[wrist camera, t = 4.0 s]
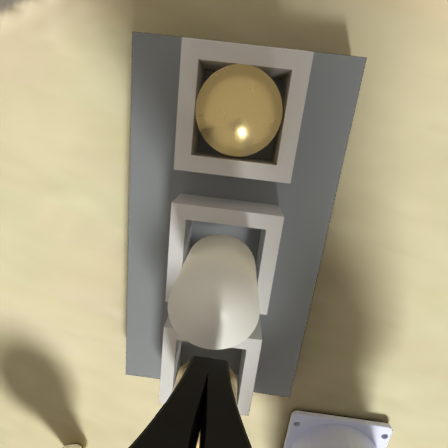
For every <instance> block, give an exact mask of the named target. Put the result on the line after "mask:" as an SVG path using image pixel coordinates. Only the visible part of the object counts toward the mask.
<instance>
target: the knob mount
mask: <svg viewBox="0 0 448 448" xmlns="http://www.w3.org/2000/svg"><path fill="white" fill-rule="evenodd" d="M366 59H367V58H366V57H357V56H348V55H339V54H330V53H320V52H314V51H305V50H296V49H287V48H278V47H269V46H260V45H251V44H242V43H233V42H224V41H215V40H206V39H197V38H188V37H176V36H167V35H158V34H149V33H140V32H133V34H132V85H131V136H130V186H129V237H128V288H127V339H126V374H127V375H134V376H141V377H148V378H156V379H160V394H159V403H160V404H165V402H166V401H167V399H168V398H169V396H170V395H171V393H172V392H173V388H174V384H175V381H176V377H177V374H178V371H179V369H180V368H181V367H182V366H183V365H184V364H185V363H186V362H188V361H190V360H191V358H192V357H193V356H200V357H210V358H215V359H220V360H226V361H227V362H228V363H229V367H230V368H231V369H232V370H233V372H234V373H235V375H236V378H237V407H238V410H239V414H240V415H245V416H249V411H250V406H251V400H252V395H253V392H256V393H263V394H270V395H277V396H284V397H290V394H291V389H292V385H293V381H294V376H295V372H296V367H297V363H298V358H299V354H300V350H301V345H302V341H303V336H304V332H305V328H306V323H307V319H308V314H309V310H310V306H311V301H312V297H313V292H314V288H315V284H316V279H317V275H318V270H319V266H320V262H321V257H322V253H323V248H324V244H325V240H326V235H327V231H328V226H329V222H330V218H331V213H332V209H333V204H334V200H335V196H336V191H337V187H338V182H339V178H340V174H341V169H342V165H343V160H344V156H345V151H346V147H347V143H348V138H349V134H350V129H351V125H352V121H353V116H354V112H355V107H356V103H357V99H358V94H359V90H360V85H361V81H362V77H363V72H364V68H365V63H366ZM233 64H246V65H251V66H254V67H257V68H259V69H260V70H262V71H263V72H265V73H266V74H267V75H268V76H269V77H270V78H271V79H272V80H273V81H274V83H275V84H276V86H277V88H278V90H279V92H280V95H281V99H282V106H283V113H282V120H281V124H280V127H279V129H278V131H277V133H276V135H275V136H274V138H273V139H272V141H271V142H270V143H269V144H268V145H267V146H266V147H264V148H263V149H262V150H260V151H258V152H256V153H254V154H251V155H248V156H241V157H235V156H229V155H225V154H223V153H220V152H218V151H217V150H215V149H214V148H212V147H211V146H210V145H209V144H208V143H207V142H206V141H205V139H204V138H203V136H202V134H201V132H200V131H199V128H198V125H197V121H196V101H197V97H198V94H199V92H200V89H201V88H202V86H203V84H204V83H205V81H206V80H207V79H208V78H209V77H210V76H211V75H212V74H213V73H215V72H216V71H217V70H219V69H221V68H223V67H226V66H229V65H233ZM214 234H225V235H230V236H233V237H235V238H237V239H239V240H241V241H242V242H243V243H245V244H246V245H247V246H248V248H249V249H250V250H251V252H252V254H253V256H254V259H255V265H256V276H257V287H258V298H259V310H260V313H259V320H258V323H257V326H256V328H255V329H254V331H253V332H252V334H251V335H250V336H249V337H248V338H247V339H246V340H244V341H243V342H242V343H240V344H238V345H236V346H233V347H231V348H227V349H220V350H212V349H205V348H201V347H198V346H195V345H193V344H191V343H189V342H188V341H186V340H185V339H183V338H182V337H181V336H180V335H179V334H178V333H177V332H176V330H175V329H174V327H173V326H172V324H171V322H170V319H169V316H168V299H169V296H170V293H171V291H172V289H173V286H174V284H175V282H176V280H177V278H178V275H179V273H180V271H181V269H182V266H183V264H184V262H185V260H186V258H187V255H188V253H189V251H190V249H191V248H192V247H193V246H194V244H195V243H197V242H198V241H199V240H201V239H202V238H204V237H207V236H210V235H214Z"/></svg>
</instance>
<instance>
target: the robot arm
mask: <svg viewBox="0 0 448 448" xmlns="http://www.w3.org/2000/svg"><path fill="white" fill-rule="evenodd" d="M297 421H298V422H297ZM392 431H393V430H392V428H391V426H390V425H389V424H388V423H383V422H376V421H369V420H362V419H355V418H347V417H340V416H333V415H326V414H319V413H312V412H305V411H294V412H292V414H291V417H290V422H289V426H288V430H287V435H286V439H285V443H284V447H283V448H387V445H388V443H389V440H390V437H391V435H392ZM199 433H200V443H199V448H252V447H251V444H250V442H249V439H248V437H247V434H246V431H245V428H244V426H243V423H242V420H241V417H240V414H239V410H238V407H237V404H236V400H235V397H234V393H233V388H232V384H231V379H230V373H229V363H228V362H227V361H226V360H220V359H213V358H207V357H200V356H193V357H192V358H191V360H190V362H189V364H188V366H187V368H186V370H185V372H184V374H183V376H182V377H181V379H180V381H179V383H178V384H177V386H176V387H175V389H174V390H173V392H172V393H171V395H170V396H169V398H168V399H167V401H166V402H165V404H164V405H163V406H162V408H161V409H160V410H159V412H158V413H157V414H156V416H155V417H154V418H153V420H152V421H151V422H150V423H149V425H148V426H147V427H146V428H145V430H144V431H143V432H142V433H141V434H140V435H139V437H138V438H137V439H136V440H135V441H134V442H133V443H132V445H131V446H130V447H129V448H196V446H197V442H198V438H199Z"/></svg>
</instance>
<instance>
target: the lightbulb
mask: <svg viewBox="0 0 448 448" xmlns="http://www.w3.org/2000/svg"><path fill="white" fill-rule="evenodd" d="M63 448H82V447H81V446H80V445H78V444H74V445H66V446H64V447H63Z"/></svg>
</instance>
